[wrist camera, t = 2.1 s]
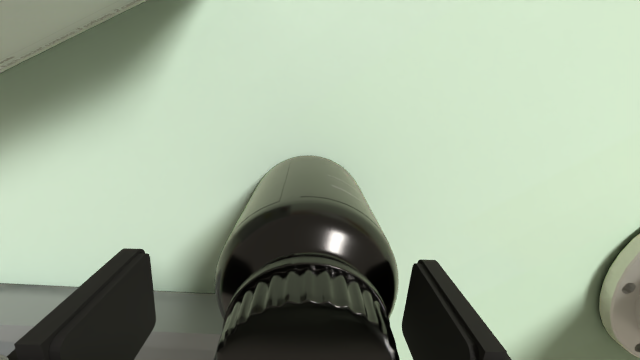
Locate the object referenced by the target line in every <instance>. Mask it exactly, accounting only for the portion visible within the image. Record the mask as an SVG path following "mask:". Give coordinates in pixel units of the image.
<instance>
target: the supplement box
mask: <svg viewBox="0 0 640 360" xmlns="http://www.w3.org/2000/svg"><path fill="white" fill-rule="evenodd" d="M145 1H147V0H0V73H2V72H4V71H5V70H7V69H9V68H11V67H13V66H15V65H17V64H19V63H21V62H23V61H25V60H27V59H29V58H31V57H33V56H35V55H37V54H39V53H41V52H43V51H46V50H48V49H50V48H52V47H54V46H56V45H58V44H60V43H62V42H64V41H66V40H68V39H70V38H72V37H74V36H76V35H78V34H80V33H82V32H84V31H86V30H88V29H90V28H92V27H94V26H96V25H98V24H100V23H102V22H104V21H106V20H108V19H110V18H112V17H114V16H116V15H118V14H120V13H122V12H124V11H126V10H128V9H131V8H133V7H135V6H137V5H139V4H141V3H143V2H145Z"/></svg>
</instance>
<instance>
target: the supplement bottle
mask: <svg viewBox="0 0 640 360" xmlns="http://www.w3.org/2000/svg"><path fill="white" fill-rule="evenodd" d="M215 292H216V299H217V303H218V307H219V310H220V313H221V315H222V317H223V319H224V322H223V330H222V334H221V336H220V339H219V342H218V345H217V350H216V353H215V356H214V359H213V360H400V359H399V355H398V352H397V349H396V343H395V340H394V337H393V334H392V331H391V328H390V322H389V318H390V316H391V314H392V311H393V309H394V306H395V302H396V299H397V293H398V270H397V264H396V261H395V257H394V254H393V252H392V250H391V247H390V245H389V242H388V241H387V239H386V237H385V235H384V233H383V231H382V229H381V227H380V225H379V224H378V222H377V220H376V218H375V216H374V214H373V212H372V210H371V209H370V207H369V205H368V203H367V201H366V199H365V197H364V195H363V194H362V192H361V190H360V188H359V186H358V185H357V183H356V181H355V180H354V178H353V177H352V176H351V175H350V174H349V173H348V172H347V171H346V170H345V169H344V168H343V167H342V166H340V165H339V164H337V163H335V162H333V161H331V160H329V159H326V158H323V157H318V156H298V157H293V158H290V159H287V160H285V161H283V162H281V163H279V164H277V165H276V166H274V167H273V168H272V169H271V170H270V171H269V172H268V173H267V174H266V175H265V176H264V177H263V178H262V180H261V181H260V183H259V184H258V186H257V188H256V189H255V191H254V193H253V195H252V197H251V198H250V200H249V202H248V204H247V206H246V207H245V209H244V211H243V213H242V214H241V216H240V218H239V220H238V222H237V223H236V225H235V227H234V229H233V231H232V232H231V234H230V236H229V238H228V240H227V242H226V244H225V246H224V248H223V250H222V252H221V255H220V258H219V261H218V264H217V268H216V275H215Z"/></svg>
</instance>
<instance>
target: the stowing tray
mask: <svg viewBox="0 0 640 360" xmlns="http://www.w3.org/2000/svg"><path fill="white" fill-rule="evenodd" d="M78 288H79V287H65V286H45V285H25V284H4V283H0V354H1V355H4V356H6V357H7V356H8V355H9V354H10V353H11V352H12V351H13V350H14V349H15V346H14V344H15V343H16V342H17V341H18V340H19V339H20V338H22V337H23V336H24V335H25V334H26V333H27V332H28V331H30V330H31V329H32V328H33V327H34V326H35V325H36V324H38V323H39V322H40V321H41V320H42V319H43V318H44V317H46V316H47V315H48V314H49V313H50V312H51V311H52V310H54V309H55V308H56V307H57V306H58V305H59V304H60V303H62V302H63V301H64V300H65V299H66V298H67V297H68V296H70V295H71V294H72V293H73V292H74V291H75V290H76V289H78ZM153 292H154V302H155V311H156V323H155V326H154V329H153V330H152V332H151V334H150V335H149V337H148V338H147V340H146V341H145V343H144V345H143V346H142V348H141V349H140V351H139V353H138V354H137V356H136V357H135V359H134V360H213V359H214V356H215V353H216V350H217V345H218V342H219V339H220V336H221V334H222V330H223V322H224V319H223V317H222V315H221V313H220V310H219V307H218V303H217V299H216V294H207V293H186V292H166V291H153Z"/></svg>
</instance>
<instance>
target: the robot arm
mask: <svg viewBox="0 0 640 360" xmlns="http://www.w3.org/2000/svg"><path fill="white" fill-rule="evenodd" d="M599 312H600V316H601V320H602V324H603V325H604V327H605V329H606V331H607V332H608V334H609V335H610V336H611V337H612V338H613V339H614V340H615V341H616V342H617V343H618V344H619V345H621V346H622V347H623V348H624V349H626V350H627V351H628V352H629V353H631V354H632V355H634V356H636V357H639V358H640V233H639V234H638V235H637V236H636V237H635V238H633V239H632V240H631V241H630V242H629V244H628V245H627V246H626V247H625V248H624V249H623V250H622V251H621V252H620V253H619V255H618V256H617V258H616V259H615V261H614V262H613V264H612V265H611V267H610V268H609V270H608V273H607V275H606V277H605V279H604V281H603V285H602V289H601V293H600V304H599ZM155 323H156V311H155V302H154V292H153V283H152V273H151V264H150V256H149V254H145V252H144V250H143V249H122V250H121V251H120V252H119V253H118V254H116V255H115V256H114V257H113V258H112V259H111V260H110V261H108V262H107V263H106V264H105V265H104V266H103V267H102V268H100V269H99V270H98V271H97V272H96V273H95V274H94V275H92V276H91V277H90V278H89V279H88V280H87V281H86V282H84V283H83V284H82V285H81V286H80V287H79V288H78V289H76V290H75V291H74V292H73V293H72V294H71V295H70V296H68V297H67V298H66V299H65V300H64V301H63V302H62V303H60V304H59V305H58V306H57V307H56V308H55V309H54V310H52V311H51V312H50V313H49V314H48V315H47V316H46V317H44V318H43V319H42V320H41V321H40V322H39V323H38V324H36V325H35V326H34V327H33V328H32V329H31V330H30V331H28V332H27V333H26V334H25V335H24V336H23V337H22V338H20V339H19V340H18V341H17V342H16V343H15V344H14V346H15V349H14V350H13V351H12V352H11V353H10V354H9V355H8V356H7V357H6V356H4V355H1V354H0V360H134V359H135V357H136V356H137V354H138V353H139V351H140V349H141V348H142V346H143V345H144V343H145V341H146V340H147V338H148V337H149V335H150V334H151V332H152V330H153V329H154V326H155ZM402 331H403V335H404V337H405V340H406V342H407V345H408V347H409V350H410V352H411V355H412V357H413V360H511V358H510V357H509V356H508V354H507V351H506V350H505V349H504V347H503V346H502V345H501V344H500V342H499V341H498V340H497V338H496V337H495V336H494V335H493V333H492V332H491V331H490V329H489V328H488V327H487V325H486V324H485V323H484V322H483V320H482V319H481V318H480V316H479V315H478V314H477V313H476V311H475V310H474V309H473V307H472V306H471V305H470V303H469V302H468V301H467V300H466V298H465V297H464V296H463V294H462V293H461V292H460V291H459V289H458V288H457V287H456V285H455V284H454V283H453V281H452V280H451V279H450V278H449V276H448V275H447V274H446V272H445V271H444V270H443V269H442V267H441V266H440V265H439V263H438V262H437V261H436V260H419V261H418V263H417V264H414V265H413V268H412V273H411V278H410V284H409V289H408V294H407V300H406V305H405V310H404V316H403V321H402Z"/></svg>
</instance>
